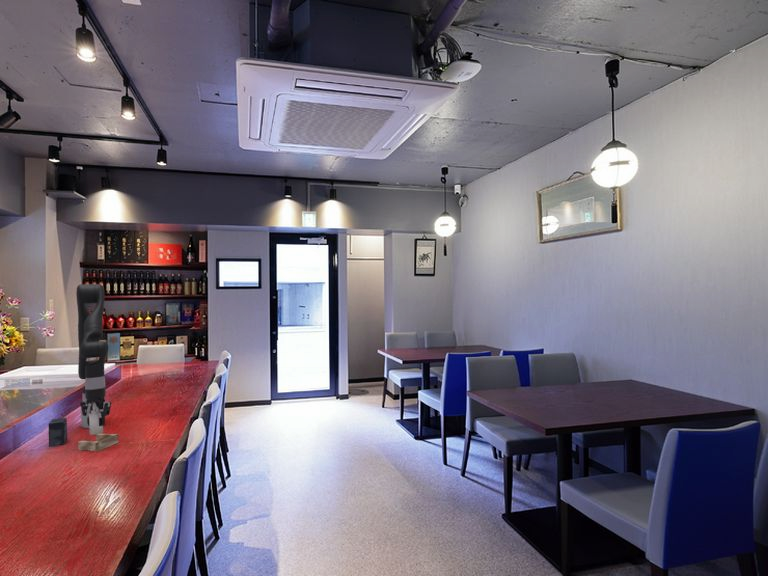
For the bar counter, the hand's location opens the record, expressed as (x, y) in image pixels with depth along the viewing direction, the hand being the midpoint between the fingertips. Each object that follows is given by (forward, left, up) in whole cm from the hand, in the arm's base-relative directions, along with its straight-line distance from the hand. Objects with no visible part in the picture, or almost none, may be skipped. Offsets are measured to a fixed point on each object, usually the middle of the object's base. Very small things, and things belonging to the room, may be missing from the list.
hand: (96, 425), depth 196 cm
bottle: (0, 0, -3) cm, 3 cm away
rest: (+1, 0, -9) cm, 9 cm away
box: (-21, +1, -9) cm, 23 cm away
